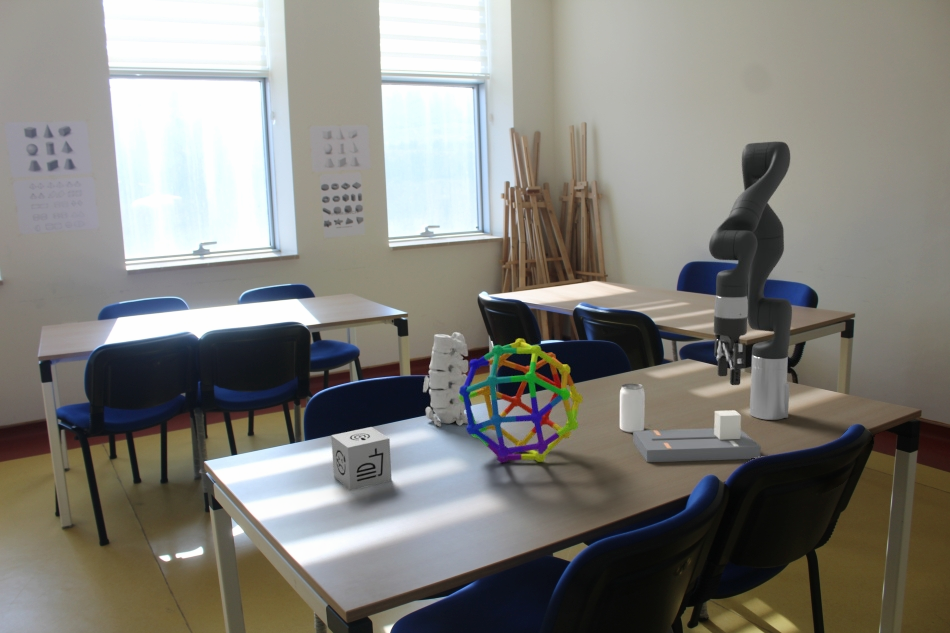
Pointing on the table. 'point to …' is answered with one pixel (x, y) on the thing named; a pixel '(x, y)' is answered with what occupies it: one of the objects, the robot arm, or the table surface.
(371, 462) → the icon cube
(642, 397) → the can
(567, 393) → the geometric model
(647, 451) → the slide board
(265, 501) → the table surface
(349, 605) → the table surface
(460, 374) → the anatomical model
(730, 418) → the fader cap
